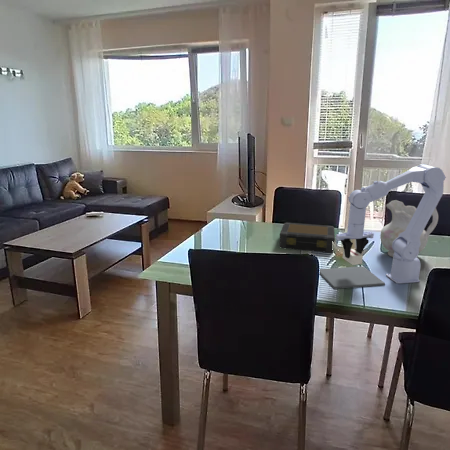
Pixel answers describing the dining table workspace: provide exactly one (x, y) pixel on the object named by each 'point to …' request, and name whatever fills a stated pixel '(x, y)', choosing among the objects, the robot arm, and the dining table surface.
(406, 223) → the ceramic pitcher
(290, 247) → the cash box
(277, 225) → the dining table surface
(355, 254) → the white rectangular block
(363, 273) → the slate mat
